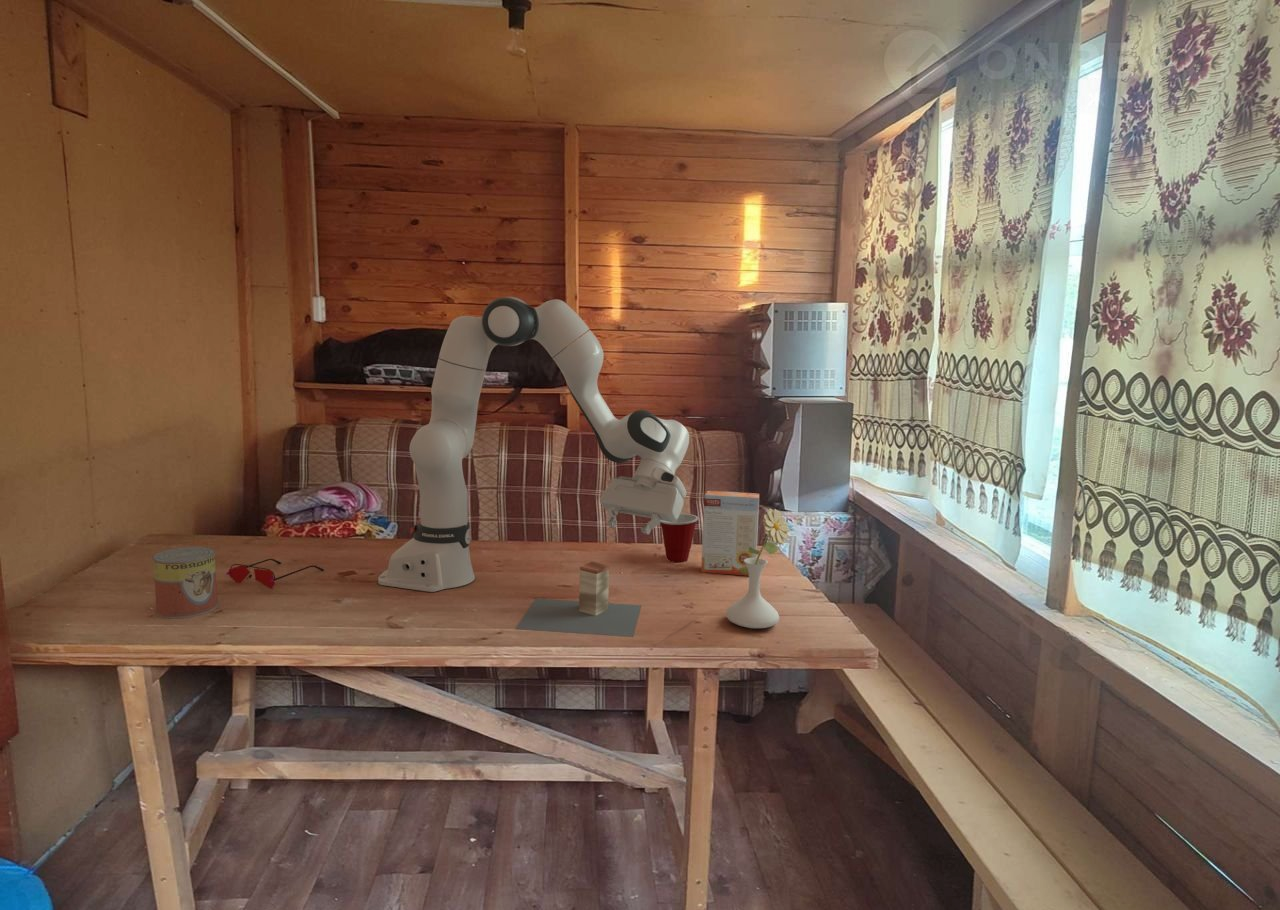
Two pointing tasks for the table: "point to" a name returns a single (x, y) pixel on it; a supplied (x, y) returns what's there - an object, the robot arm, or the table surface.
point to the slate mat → (580, 618)
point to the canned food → (185, 582)
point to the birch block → (594, 588)
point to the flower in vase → (752, 605)
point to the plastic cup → (678, 537)
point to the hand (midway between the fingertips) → (627, 529)
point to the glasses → (259, 573)
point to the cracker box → (729, 531)
